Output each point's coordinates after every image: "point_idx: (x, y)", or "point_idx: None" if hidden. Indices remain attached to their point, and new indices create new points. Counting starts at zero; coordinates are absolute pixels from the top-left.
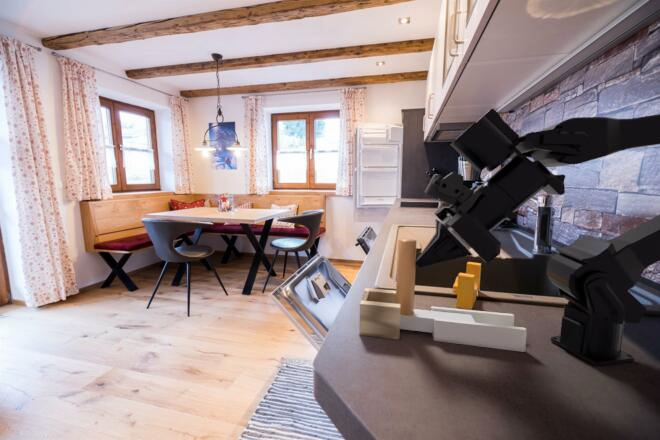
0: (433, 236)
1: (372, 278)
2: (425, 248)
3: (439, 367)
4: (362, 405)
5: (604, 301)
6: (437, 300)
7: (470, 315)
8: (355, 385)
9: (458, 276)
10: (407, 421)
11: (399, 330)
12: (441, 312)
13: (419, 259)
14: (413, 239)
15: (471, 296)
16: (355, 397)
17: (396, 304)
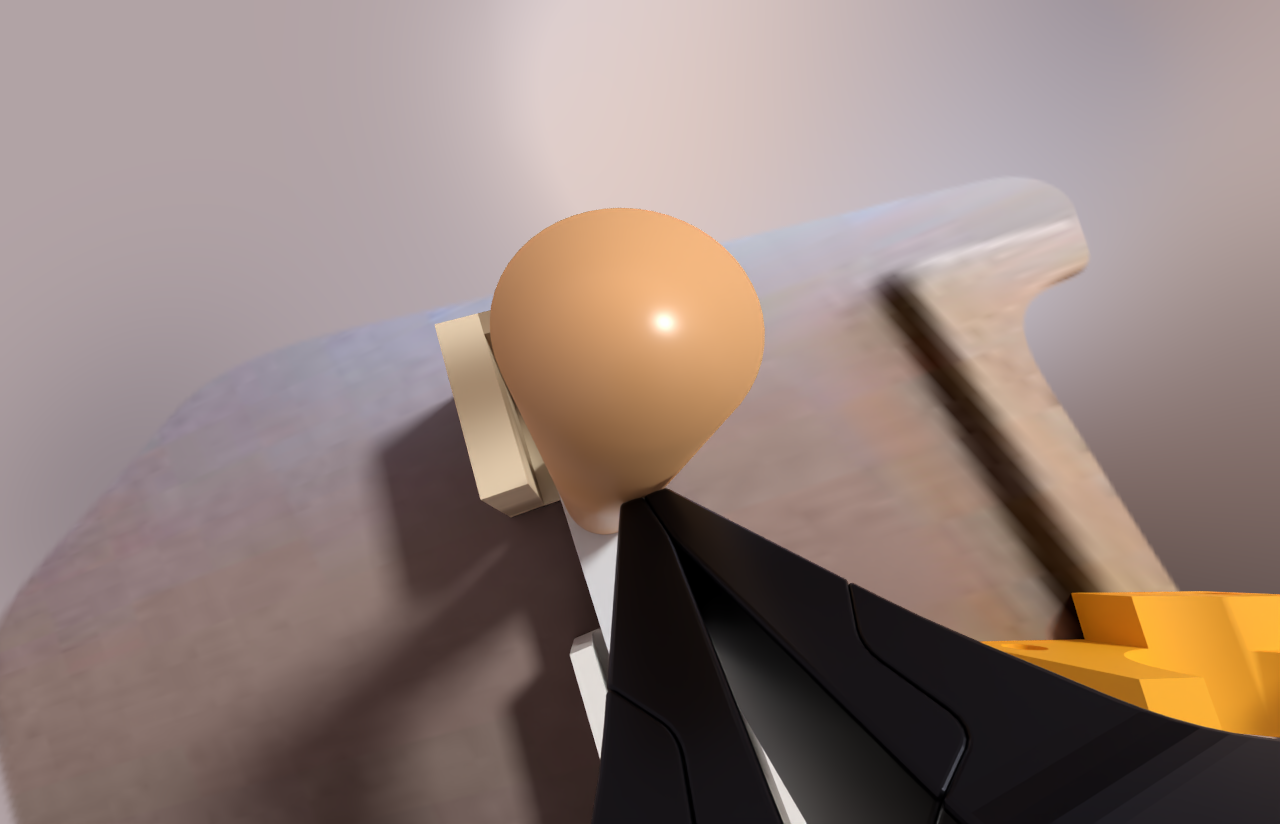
0: (1026, 682)
1: (984, 226)
2: (748, 572)
3: (389, 714)
4: (83, 557)
5: None
6: (966, 542)
7: None
8: (173, 498)
9: (1128, 680)
10: (47, 706)
11: (503, 512)
12: None
13: (621, 537)
14: (752, 377)
15: None
16: (114, 523)
17: (513, 468)
